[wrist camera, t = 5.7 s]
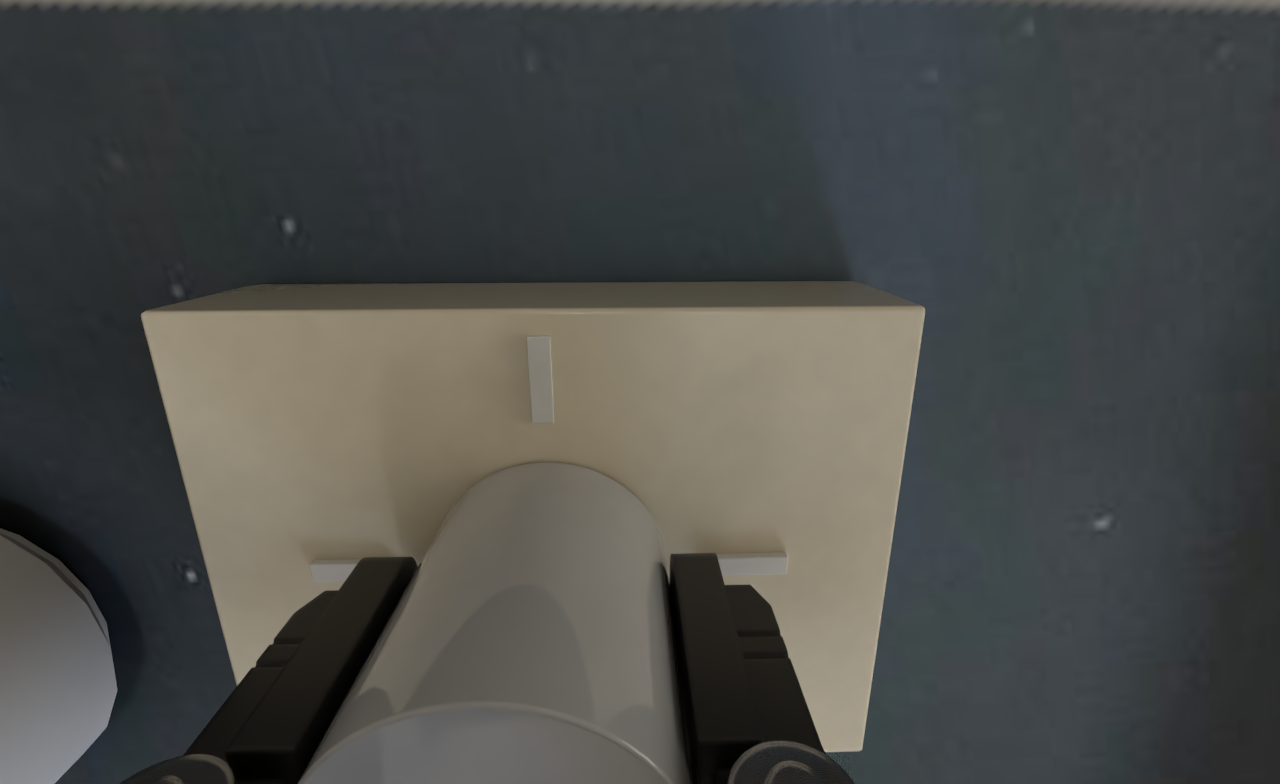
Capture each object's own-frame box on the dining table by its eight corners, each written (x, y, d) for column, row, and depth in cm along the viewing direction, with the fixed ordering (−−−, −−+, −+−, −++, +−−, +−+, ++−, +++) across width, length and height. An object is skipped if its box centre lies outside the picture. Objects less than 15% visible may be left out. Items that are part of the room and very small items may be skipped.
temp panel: (857, 280, 12) (933, 308, 9) (817, 647, 15) (866, 760, 12) (252, 283, 12) (127, 313, 9) (327, 656, 15) (251, 775, 12)
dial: (415, 470, 10) (199, 753, 5) (659, 452, 10) (694, 717, 5) (456, 667, 11) (317, 1056, 6) (672, 650, 11) (712, 1024, 6)
